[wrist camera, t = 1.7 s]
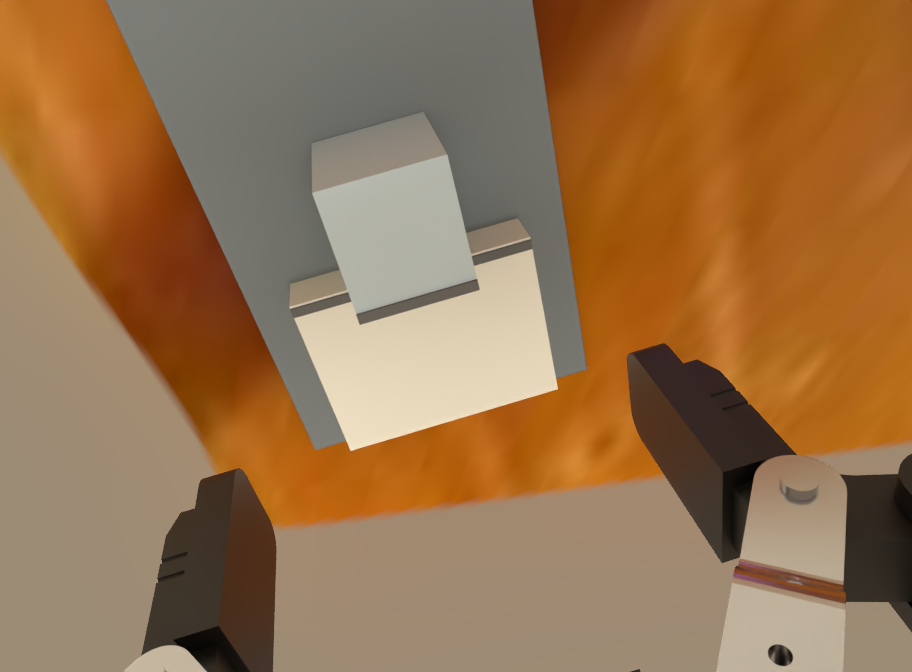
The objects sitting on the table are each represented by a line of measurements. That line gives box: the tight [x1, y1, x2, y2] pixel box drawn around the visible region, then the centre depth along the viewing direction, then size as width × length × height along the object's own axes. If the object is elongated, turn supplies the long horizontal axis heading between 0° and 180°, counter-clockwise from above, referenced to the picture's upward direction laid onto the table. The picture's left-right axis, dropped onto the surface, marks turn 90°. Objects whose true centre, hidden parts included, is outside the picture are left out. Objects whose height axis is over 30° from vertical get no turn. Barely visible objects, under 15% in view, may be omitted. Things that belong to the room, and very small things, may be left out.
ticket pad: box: [106, 0, 587, 451], centre depth 28 cm, size 14×21×3 cm, turn 13°
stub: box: [311, 112, 480, 325], centre depth 25 cm, size 4×5×6 cm
